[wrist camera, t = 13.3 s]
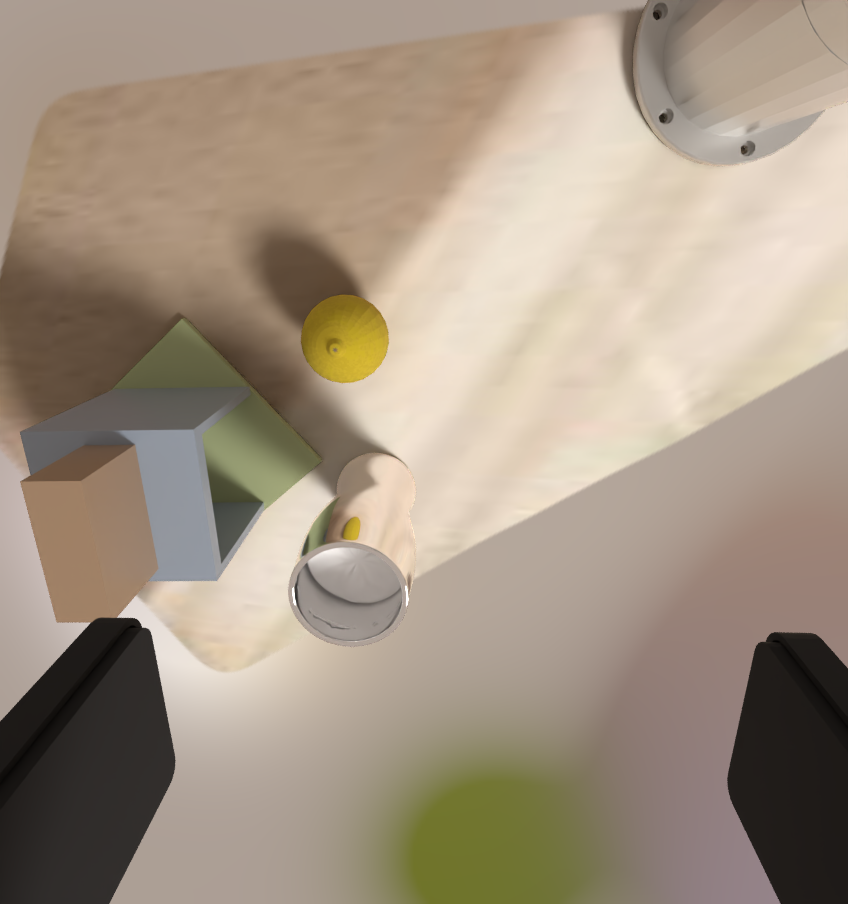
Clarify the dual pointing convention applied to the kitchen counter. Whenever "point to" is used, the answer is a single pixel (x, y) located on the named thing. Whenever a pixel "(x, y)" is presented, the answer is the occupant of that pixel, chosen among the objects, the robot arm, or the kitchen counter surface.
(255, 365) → the kitchen counter surface
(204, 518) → the cover
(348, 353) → the lemon
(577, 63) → the kitchen counter surface
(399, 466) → the beer glass
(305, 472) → the mat
